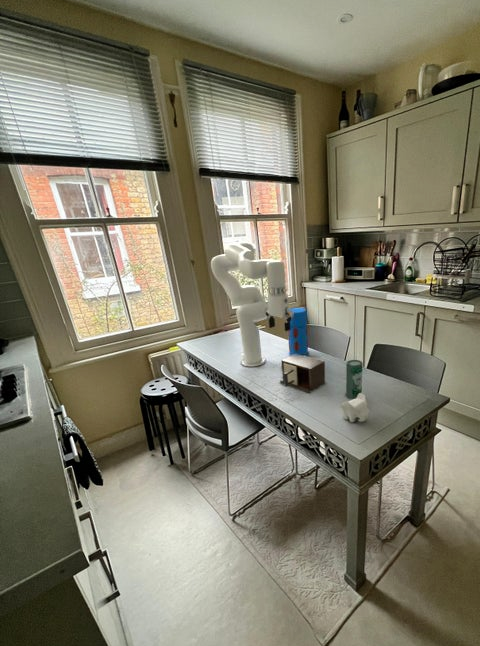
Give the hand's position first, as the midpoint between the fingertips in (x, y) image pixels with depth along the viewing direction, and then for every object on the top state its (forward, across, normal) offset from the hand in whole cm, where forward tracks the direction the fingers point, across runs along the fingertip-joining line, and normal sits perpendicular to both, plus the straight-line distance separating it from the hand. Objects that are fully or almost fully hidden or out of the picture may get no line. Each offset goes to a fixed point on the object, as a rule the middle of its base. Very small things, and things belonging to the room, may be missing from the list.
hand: (279, 328), depth 143 cm
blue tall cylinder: (+24, +14, -28) cm, 40 cm away
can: (+24, -37, -4) cm, 45 cm away
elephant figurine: (+24, -47, +11) cm, 54 cm away
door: (+23, -9, +7) cm, 26 cm away
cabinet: (+24, -12, -1) cm, 27 cm away
